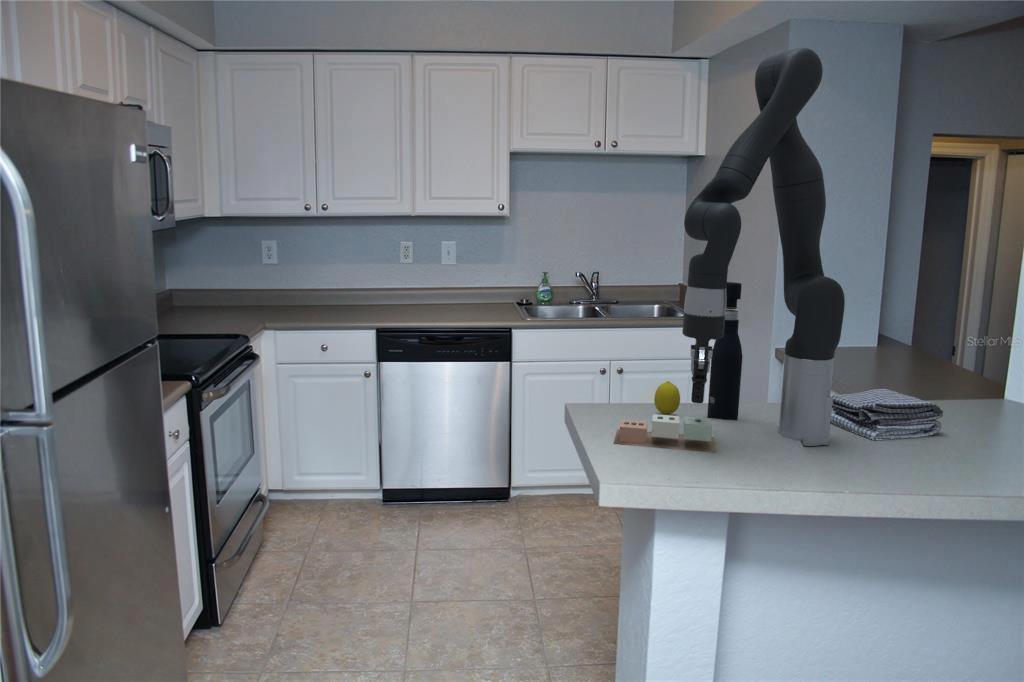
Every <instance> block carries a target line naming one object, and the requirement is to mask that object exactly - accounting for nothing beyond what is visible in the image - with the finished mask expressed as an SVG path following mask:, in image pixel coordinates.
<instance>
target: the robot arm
mask: <svg viewBox="0 0 1024 682" xmlns="http://www.w3.org/2000/svg"><path fill="white" fill-rule="evenodd" d="M823 71H824V69H823V63H822V60H821V58H820V56H819V55H818V54H817V52H815V51H814V50H813V49H811V48H808V47H798V48H797V47H796V48H791V49H789V50H786V51H784V52H780V53H778V54H774V55H772V56H768V57H766V58H765V59H763V60H762V61H761V62H760V63H759V65H758V67H757V68H756V71H755V77H754V88H755V94H756V95H755V96H756V100H757V105H758V108H759V112H760V113H759V114H758V115H757V116H756V118H755V119H754V120H753V121H752V122H751V124H749V126H747V127H746V128H745V130H744V131H743V132H742V133H740V134H739V136H738V137H737V139H736V140H735V141H734V142H733V144H732V145H731V146H730V148H729V149H728V151H727V153H726V155H725V156H724V158H723V160H722V162H721V164H720V165H719V167H718V169H717V171H716V173H715V175H714V177H713V178H712V179H711V180H710V181H709V182H708V183H707V184H706V185H705V186H704V187H703V189H702V190H701V191H700V192H699V193H698V194H697V195H696V197H695V198H694V199H693V200H692V202H691V203H690V204H689V206H688V208H687V210H686V212H685V216H684V221H683V224H684V225H683V226H684V231H685V233H686V234H687V236H688V237H690V238H691V239H693V240H695V241H703V242H707V243H706V245H705V247H704V251H703V253H699V254H695V255H693V256H692V257H691V258H690V261H689V264H688V272H687V273H688V274H687V275H688V276H687V288H686V292H685V297H684V305H683V306H684V307H683V318H682V319H683V320H682V335H683V336H684V337H687V338H690V339H695V343H694V344H691V345H690V371H691V383H692V384H691V385H692V387H691V398H690V399H691V403H693V404H703V403H704V399H705V398H704V396H705V386H706V383H707V381H708V378H707V377H708V374H709V372H710V370H711V358H712V353H713V346H712V345H710V343H709V342H710V341H711V340H714V341H716V339H721V338H722V337H723V336H724V325H725V314H726V310H727V309H726V302H727V297H726V286H727V282H728V273H729V265H730V262H731V261H732V257H733V255H734V252H735V249H736V246H737V244H738V241H739V238H740V234H741V231H742V230H741V229H742V219H741V214H740V211H739V210H738V208H737V207H736V206H735V205H734V204H733V203H735V202H738V201H742V200H745V199H746V198H747V197H748V196H749V195H750V193H751V191H752V189H753V188H754V186H755V184H756V182H757V180H758V179H759V176H760V174H761V172H762V171H763V169H764V168H765V167H764V166H765V165H766V163H767V161H768V159H769V165H770V170H771V184H772V192H773V197H774V198H773V199H774V207H775V211H776V218H777V224H778V225H777V226H778V233H779V238H780V245H781V251H782V252H781V253H782V263H783V266H782V267H783V268H782V269H783V272H782V273H783V299H784V303H785V306H786V308H787V310H788V312H790V313H791V314H792V315H793V316H794V319H795V320H794V324H793V325H794V327H793V332H792V335H791V337H790V338H788V339H787V340H786V341H785V347H784V355H783V356H784V358H783V369H782V380H781V392H780V394H781V395H780V403H779V417H778V426H777V433H778V434H779V435H781V436H782V437H784V438H786V439H787V438H788V439H791V440H797V441H800V443H801V445H802V446H807V447H815V446H829V443H830V442H829V439H830V432H831V431H830V430H831V423H830V422H831V413H832V411H833V408H832V404H833V403H832V401H833V399H832V396H831V395H832V393H831V392H832V384H833V382H832V381H833V374H834V373H833V372H834V363H835V356H836V355H835V354H836V350H837V348H838V346H839V344H840V341H841V336H842V329H843V323H844V317H845V316H844V314H845V308H846V307H845V305H846V304H845V303H846V302H845V301H846V299H845V293H844V290H843V287H842V286H841V284H840V283H839V282H838V281H836V280H835V279H833V278H831V277H829V276H825V273H824V269H823V262H822V257H821V251H820V250H821V249H820V248H821V247H820V246H821V237H822V230H823V225H824V220H825V216H826V208H827V197H826V188H825V181H824V180H825V179H824V174H823V168H822V166H821V164H820V162H819V160H818V158H817V157H816V155H815V154H814V152H813V150H812V149H811V148H810V146H809V144H808V143H807V141H806V140H805V139H804V137H803V135H802V133H801V130H800V128H799V125H798V124H799V123H798V120H797V117H798V116H799V114H800V113H801V111H803V109H804V107H805V106H806V105H807V104H808V102H809V101H810V99H811V98H812V97H813V96H814V94H815V93H816V91H817V90H818V88H819V86H820V84H821V82H822V78H823Z"/></svg>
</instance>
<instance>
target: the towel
mask: <svg viewBox="0 0 1024 682" xmlns="http://www.w3.org/2000/svg"><path fill="white" fill-rule="evenodd" d="M831 397H832V399H833V401H832V411H833V412H834V413H832V412H831V423H830V424H832V423H833V424H832V425H834V424H835V425H834V426H837V425H838V426H837V427H840V426H841V427H840V428H842V427H844V428H845V430H846V429H848V430H847V431H849V430H850V432H851V431H853V432H852V433H854V432H856V433H855V434H857V433H858V434H860V435H863V436H862V437H864V436H865V437H864V438H866V437H868V438H870V439H872V440H876V439H890V440H892V439H891V438H902V437H911V436H916V435H917V436H919V435H930V434H934V435H937V434H938V433H939V432H940V431H941V430H942V423H941V422H940V421H939V420H938V419H940V418H943V415H944V411H943V409H942V408H941V407H940V406H939V405H938V404H936V403H934V402H933V401H928V400H927V401H925V400H922V399H920V398H918V397H915V396H911V395H907V394H903V393H900V392H898V391H895V390H892V389H887V388H876V389H875V388H874V389H870V390H864V391H860V392H854V393H846V394H833V395H832V396H831ZM844 428H843V429H844ZM858 434H857V435H858ZM860 435H859V436H860ZM868 438H867V439H868ZM870 439H869V440H870ZM872 440H871V441H872Z"/></svg>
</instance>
